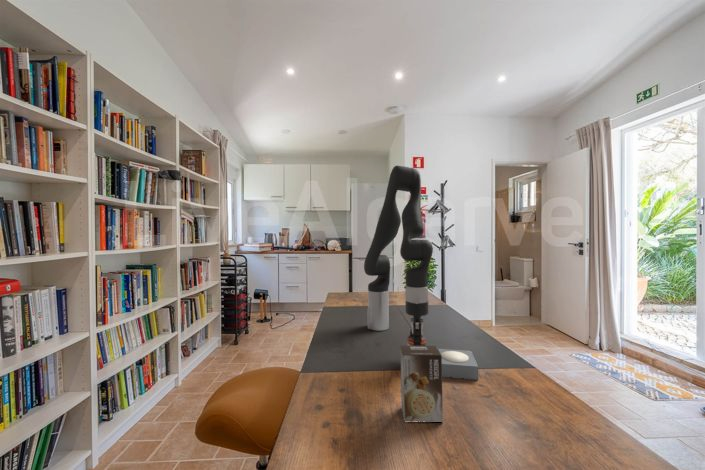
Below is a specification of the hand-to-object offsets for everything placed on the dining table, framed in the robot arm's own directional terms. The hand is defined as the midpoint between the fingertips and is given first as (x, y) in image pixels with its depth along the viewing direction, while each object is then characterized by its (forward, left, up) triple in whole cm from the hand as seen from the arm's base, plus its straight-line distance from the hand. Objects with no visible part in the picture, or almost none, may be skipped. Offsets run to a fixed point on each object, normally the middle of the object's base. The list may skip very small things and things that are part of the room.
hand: (417, 347), depth 103 cm
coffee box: (+1, -29, -6) cm, 29 cm away
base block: (+12, -2, -5) cm, 13 cm away
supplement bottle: (0, 0, -6) cm, 6 cm away
